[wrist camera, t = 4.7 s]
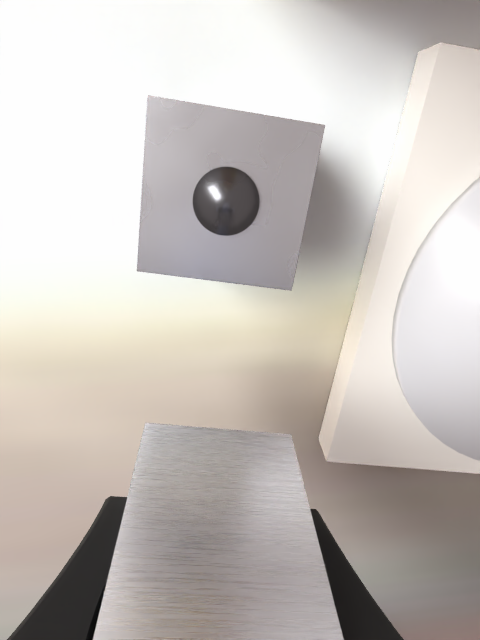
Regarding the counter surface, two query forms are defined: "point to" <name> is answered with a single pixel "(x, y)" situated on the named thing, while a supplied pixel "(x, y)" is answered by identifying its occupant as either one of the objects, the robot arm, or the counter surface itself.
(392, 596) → the counter surface
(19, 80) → the counter surface
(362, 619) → the robot arm
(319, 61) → the counter surface
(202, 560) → the block
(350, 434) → the scale
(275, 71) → the counter surface
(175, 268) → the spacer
